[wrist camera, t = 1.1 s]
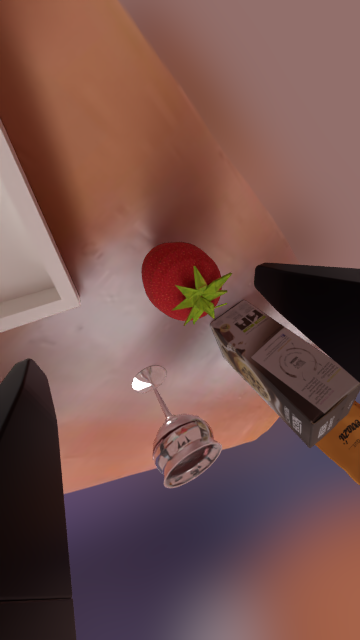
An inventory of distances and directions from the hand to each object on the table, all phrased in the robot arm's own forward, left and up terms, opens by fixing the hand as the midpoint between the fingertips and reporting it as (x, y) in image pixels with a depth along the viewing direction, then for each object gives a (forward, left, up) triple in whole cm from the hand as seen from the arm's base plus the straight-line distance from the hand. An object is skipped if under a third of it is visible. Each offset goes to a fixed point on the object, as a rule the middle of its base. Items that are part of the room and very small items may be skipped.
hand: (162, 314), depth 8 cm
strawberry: (-4, -5, -14) cm, 15 cm away
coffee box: (-18, -15, -14) cm, 27 cm away
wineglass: (-20, -1, -14) cm, 24 cm away
